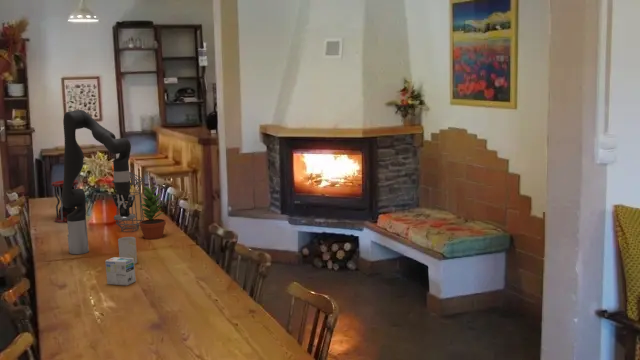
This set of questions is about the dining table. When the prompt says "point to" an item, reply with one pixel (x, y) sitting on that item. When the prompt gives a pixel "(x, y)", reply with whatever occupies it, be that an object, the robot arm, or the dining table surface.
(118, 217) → the lid
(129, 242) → the light grey cylinder
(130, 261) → the light bulb box
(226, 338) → the dining table surface
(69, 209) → the hourglass
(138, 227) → the geometric lantern
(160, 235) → the potted plant
